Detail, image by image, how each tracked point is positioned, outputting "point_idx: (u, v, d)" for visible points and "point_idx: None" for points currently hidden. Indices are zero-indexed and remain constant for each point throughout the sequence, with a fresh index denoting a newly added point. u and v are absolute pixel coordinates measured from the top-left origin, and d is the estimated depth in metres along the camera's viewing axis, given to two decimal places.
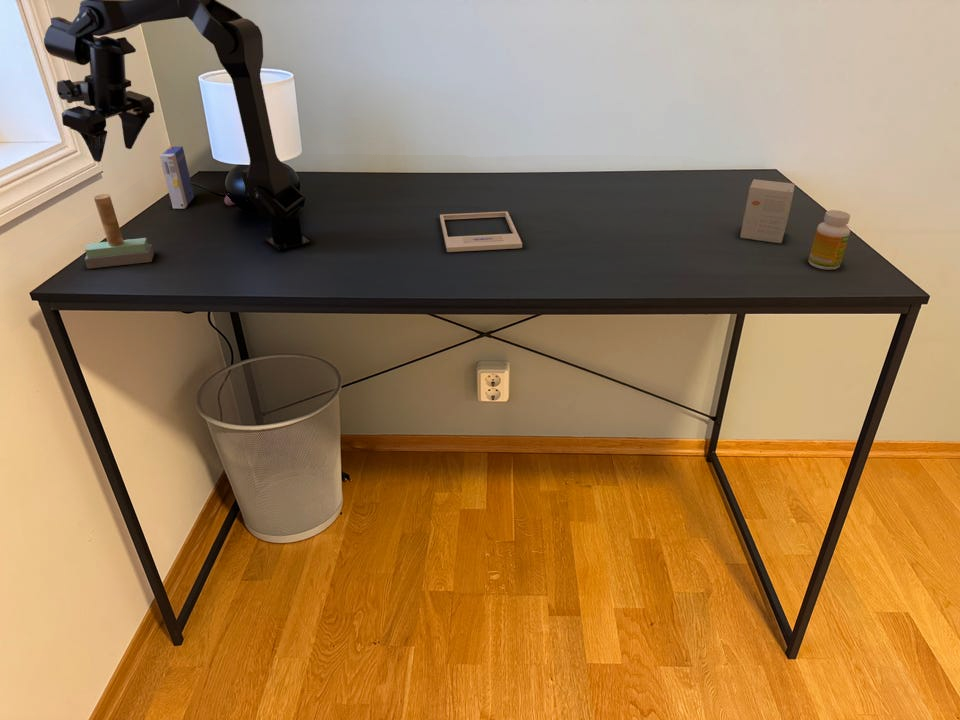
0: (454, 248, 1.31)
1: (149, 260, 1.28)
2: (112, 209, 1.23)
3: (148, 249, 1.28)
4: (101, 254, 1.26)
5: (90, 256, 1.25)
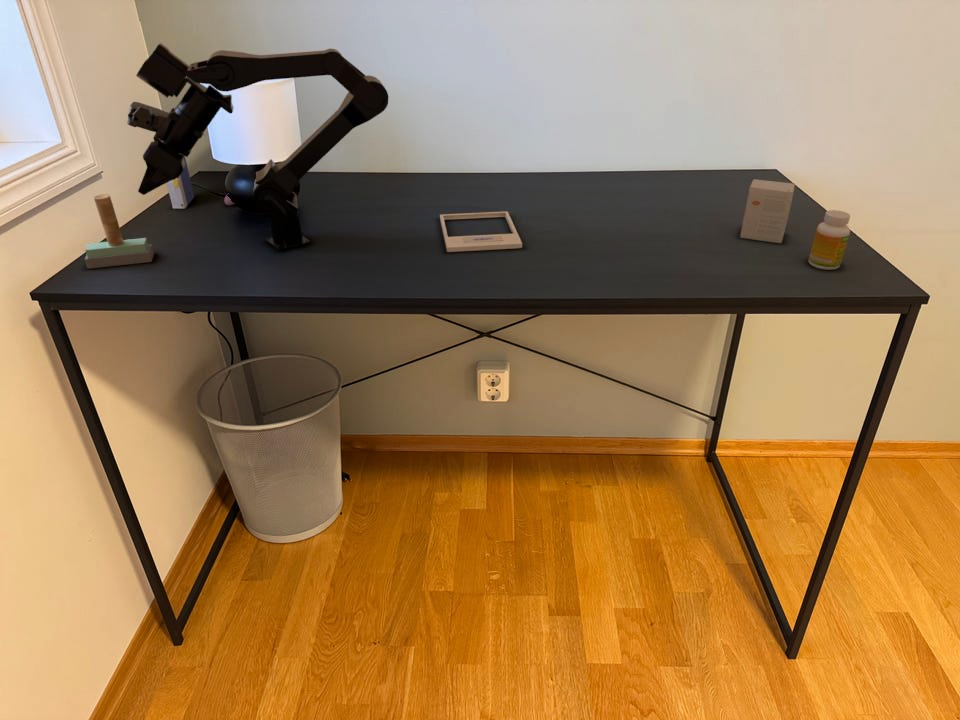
0: (454, 248, 1.31)
1: (149, 260, 1.28)
2: (112, 209, 1.23)
3: (148, 249, 1.28)
4: (101, 254, 1.26)
5: (90, 256, 1.25)
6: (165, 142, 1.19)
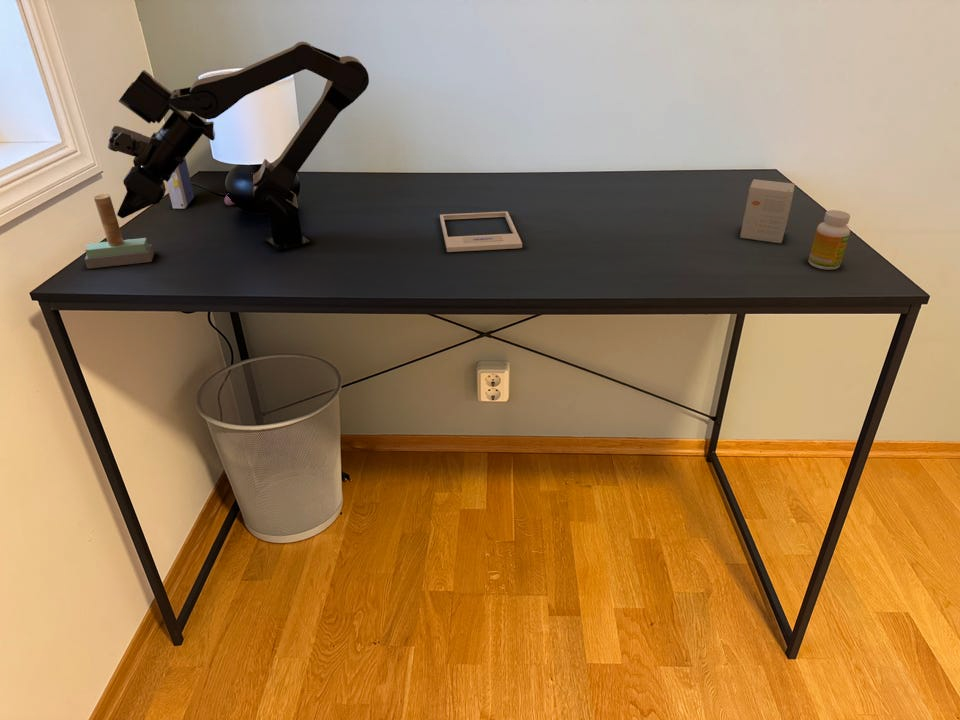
0: (454, 248, 1.31)
1: (149, 260, 1.28)
2: (112, 209, 1.23)
3: (148, 249, 1.28)
4: (101, 254, 1.26)
5: (90, 256, 1.25)
6: (146, 167, 1.19)
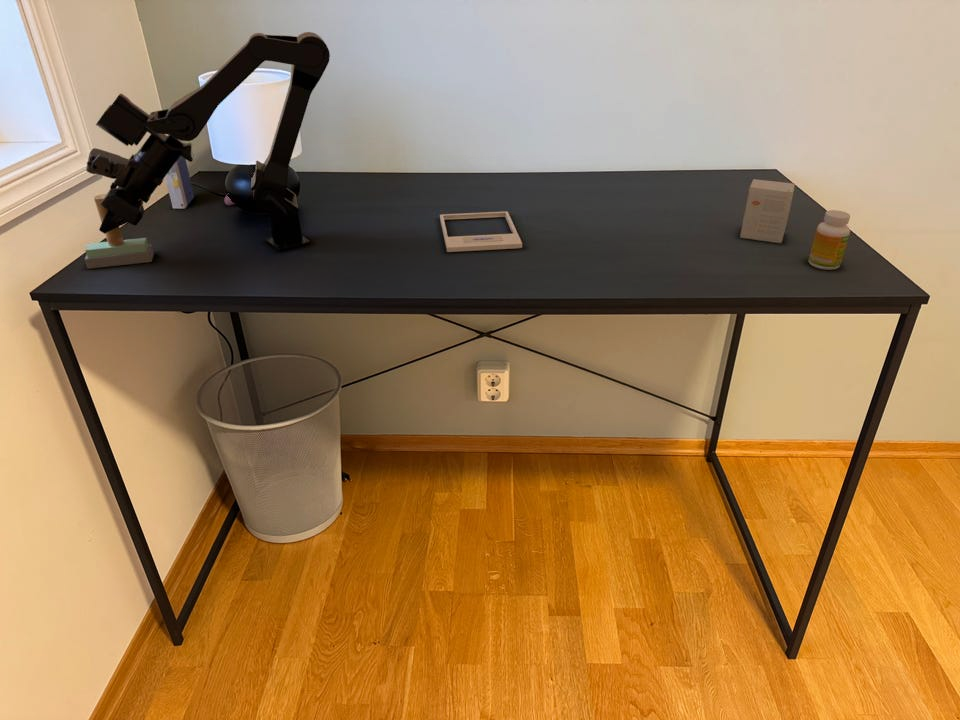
0: (454, 248, 1.31)
1: (149, 260, 1.28)
2: None
3: (148, 249, 1.28)
4: (101, 254, 1.26)
5: (90, 256, 1.25)
6: (124, 189, 1.20)
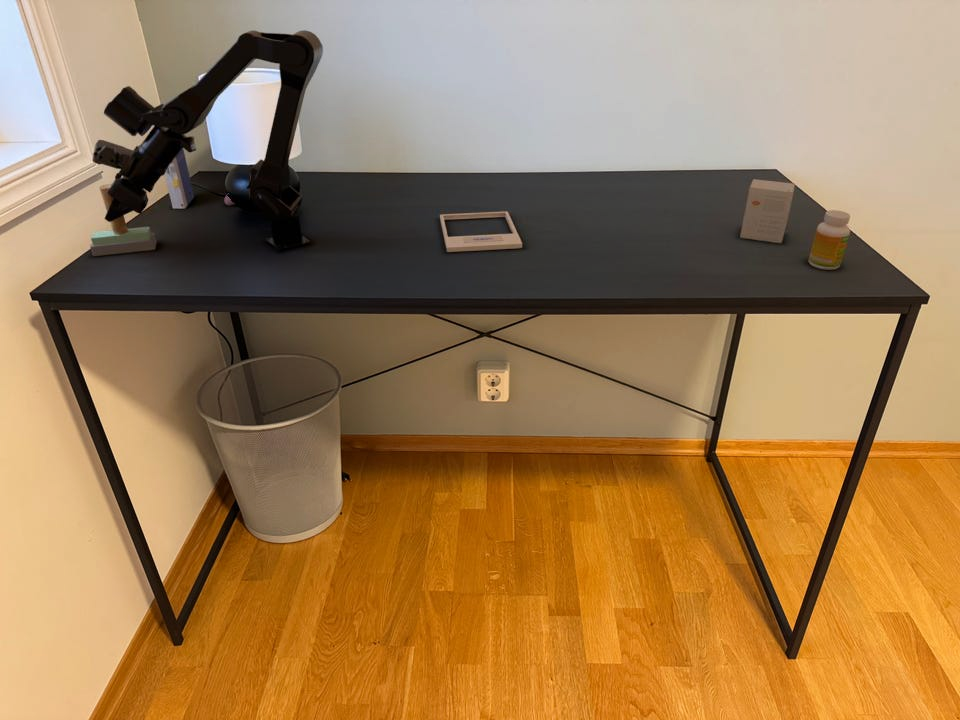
0: (454, 248, 1.31)
1: (152, 248, 1.33)
2: None
3: (151, 237, 1.33)
4: (106, 242, 1.30)
5: (96, 244, 1.30)
6: (129, 178, 1.25)
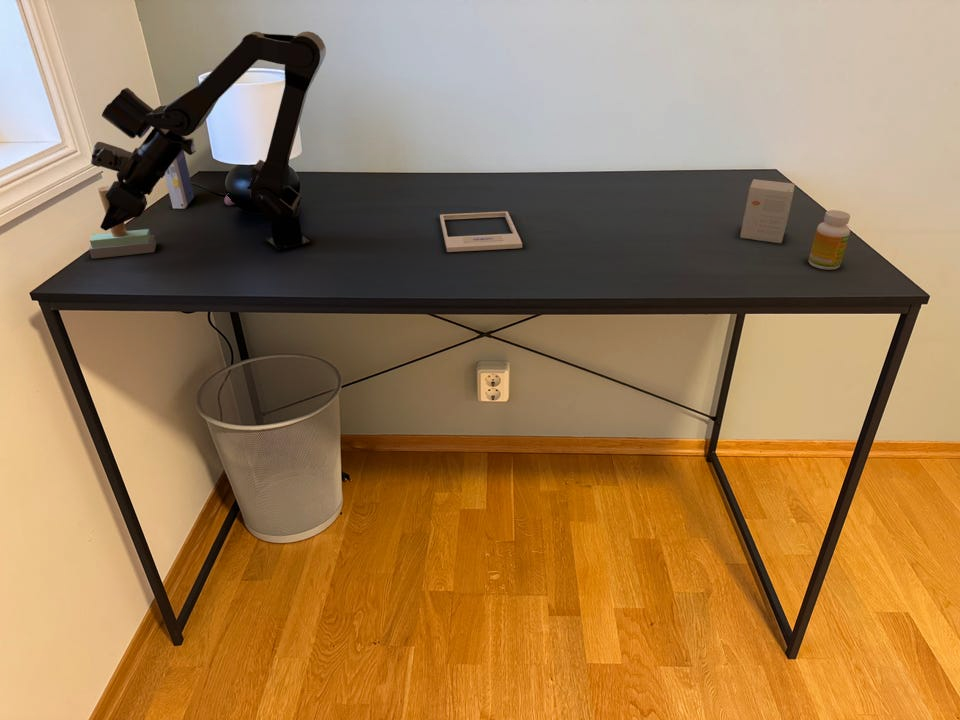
0: (454, 248, 1.31)
1: (152, 251, 1.32)
2: None
3: (151, 240, 1.32)
4: (105, 244, 1.29)
5: (94, 246, 1.29)
6: (128, 181, 1.24)
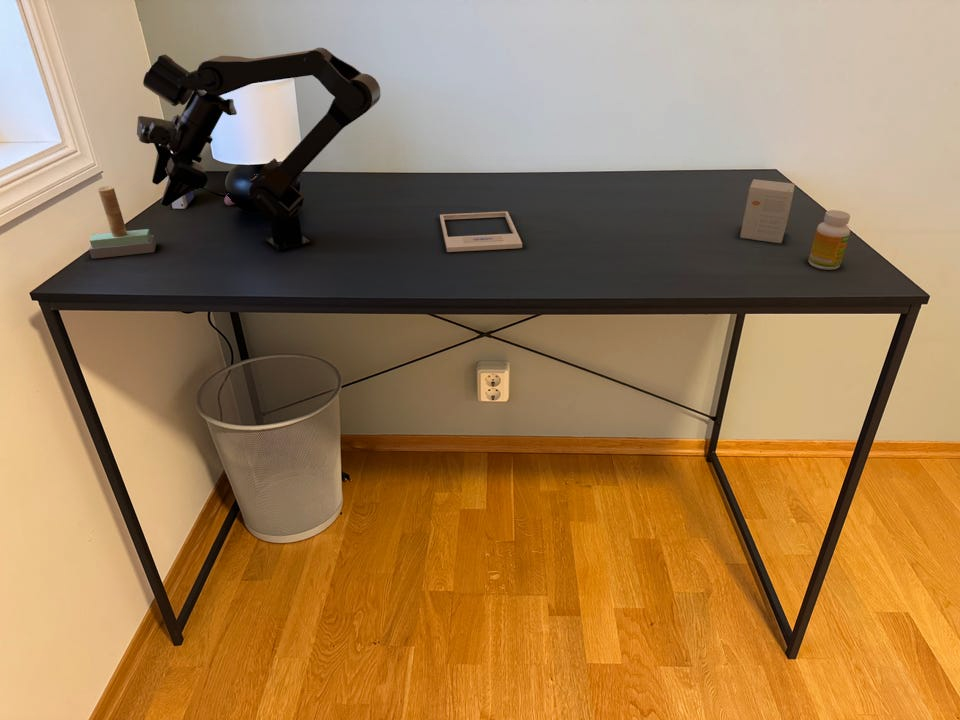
0: (454, 248, 1.31)
1: (152, 251, 1.32)
2: (116, 201, 1.27)
3: (151, 240, 1.32)
4: (105, 244, 1.29)
5: (94, 246, 1.29)
6: (178, 153, 1.23)
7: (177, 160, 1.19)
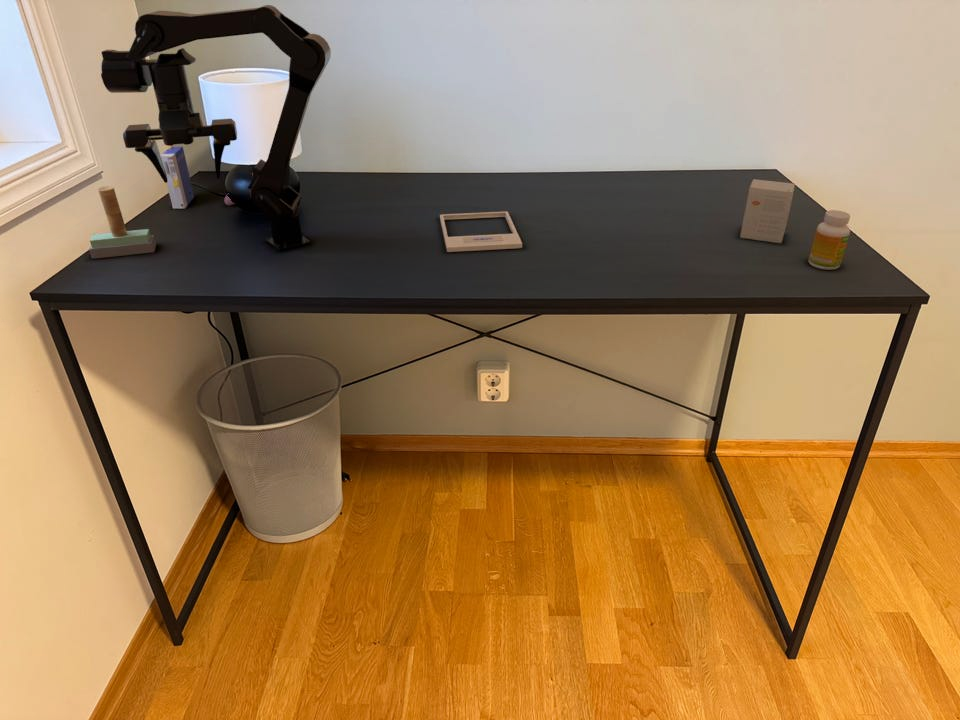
0: (454, 248, 1.31)
1: (152, 251, 1.32)
2: (116, 201, 1.27)
3: (151, 240, 1.32)
4: (105, 244, 1.29)
5: (94, 246, 1.29)
6: None
7: (224, 126, 1.23)
